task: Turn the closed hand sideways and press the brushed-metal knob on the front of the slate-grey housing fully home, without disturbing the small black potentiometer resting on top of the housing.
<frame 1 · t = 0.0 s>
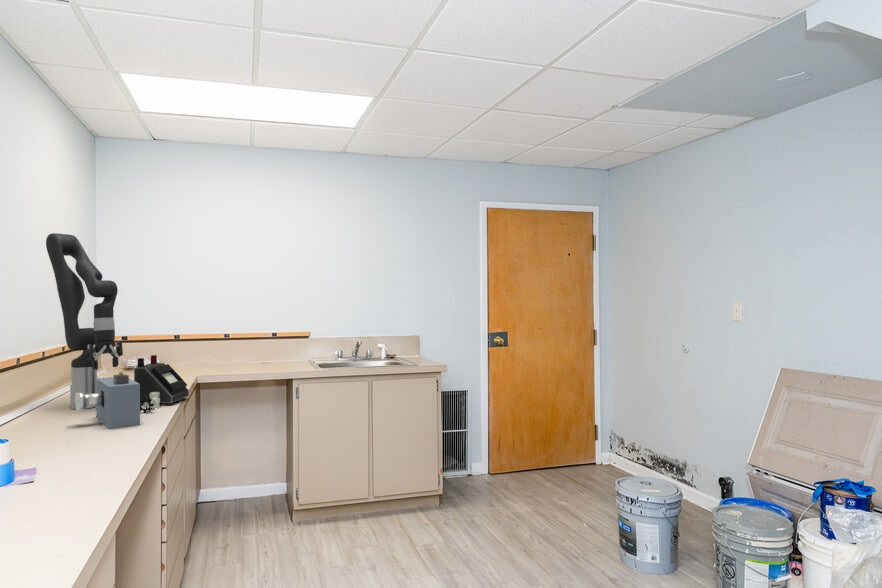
hand: (105, 368, 239), 17 cm above the worktop, tool pointing down, fingers open, 8 cm apart
knob: (91, 400, 214), point 9 cm above the worktop, slide at 5.5 cm
housing: (117, 421, 220), on the worktop
valve: (150, 410, 240), on the worktop
voltmeter: (162, 402, 256), on the worktop
potentiometer: (121, 383, 215), point 15 cm above the worktop, touching housing
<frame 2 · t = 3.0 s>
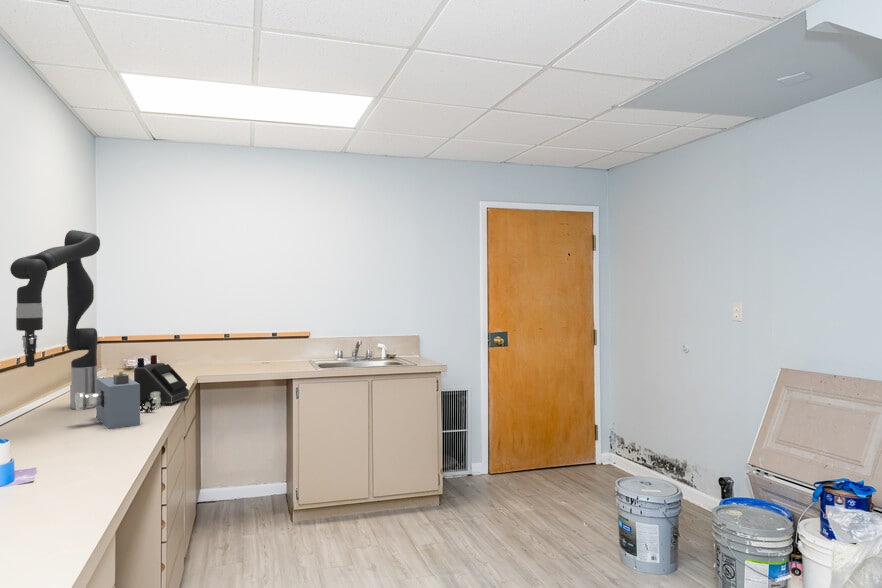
hand: (29, 365, 202), 23 cm above the worktop, tool pointing down, fingers open, 3 cm apart
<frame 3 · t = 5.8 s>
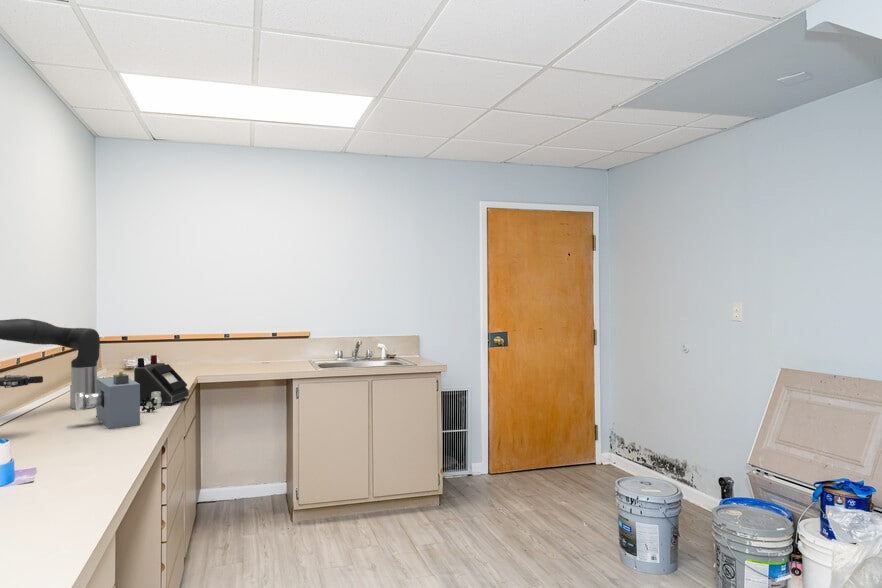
hand: (42, 379, 204), 18 cm above the worktop, tool horizontal, fingers closed
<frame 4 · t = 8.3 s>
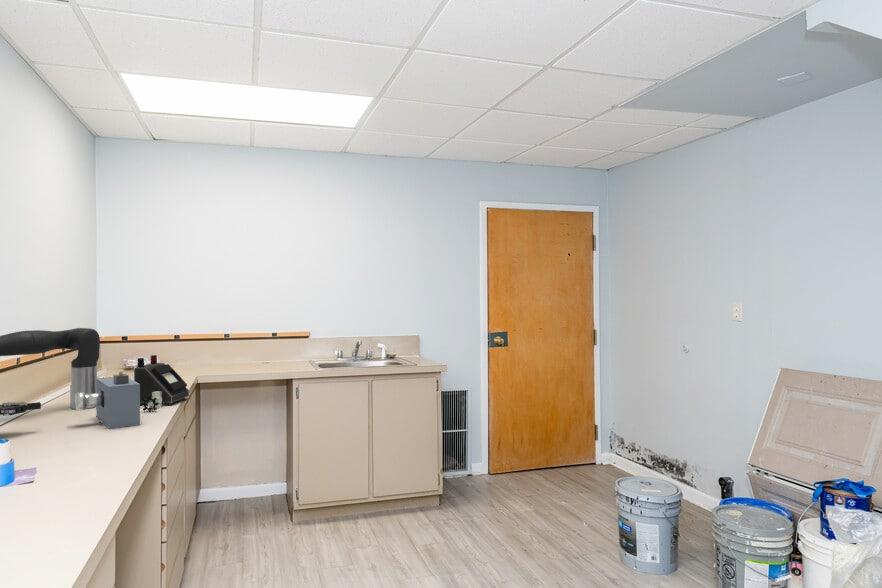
hand: (40, 405, 204), 9 cm above the worktop, tool horizontal, fingers closed
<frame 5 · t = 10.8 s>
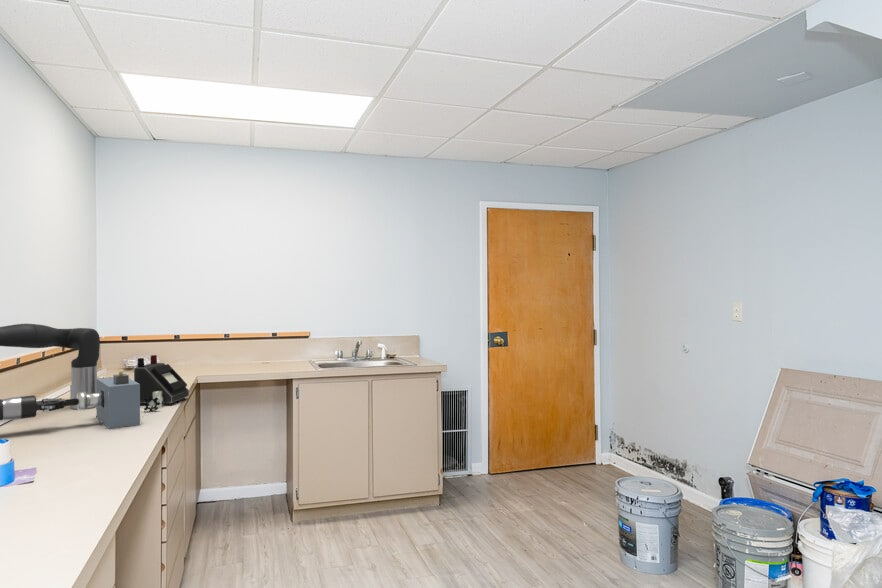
hand: (77, 401, 211), 9 cm above the worktop, tool horizontal, fingers closed
knob: (92, 399, 214), point 9 cm above the worktop, slide at 5.0 cm, touching gripper
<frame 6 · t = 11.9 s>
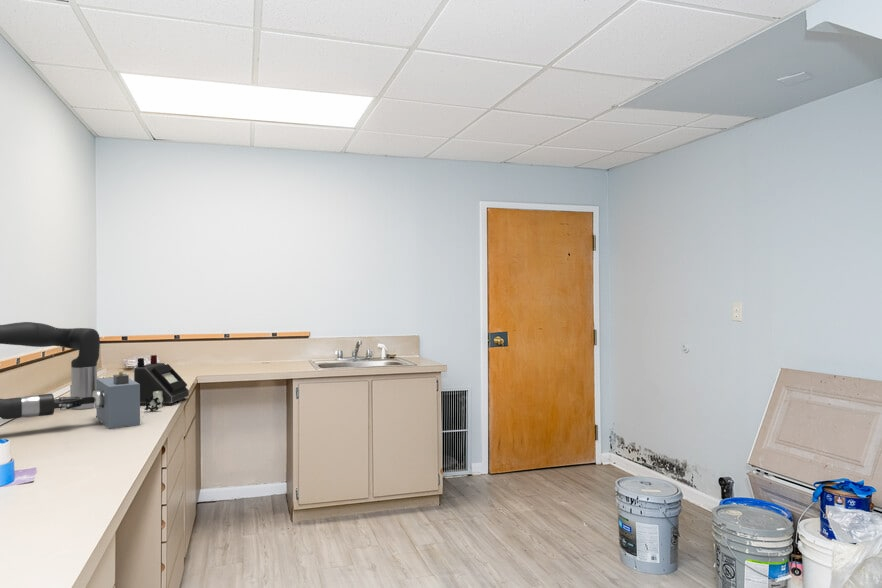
hand: (93, 399, 215), 9 cm above the worktop, tool horizontal, fingers closed
knob: (108, 398, 218), point 9 cm above the worktop, slide at -0.1 cm, touching gripper
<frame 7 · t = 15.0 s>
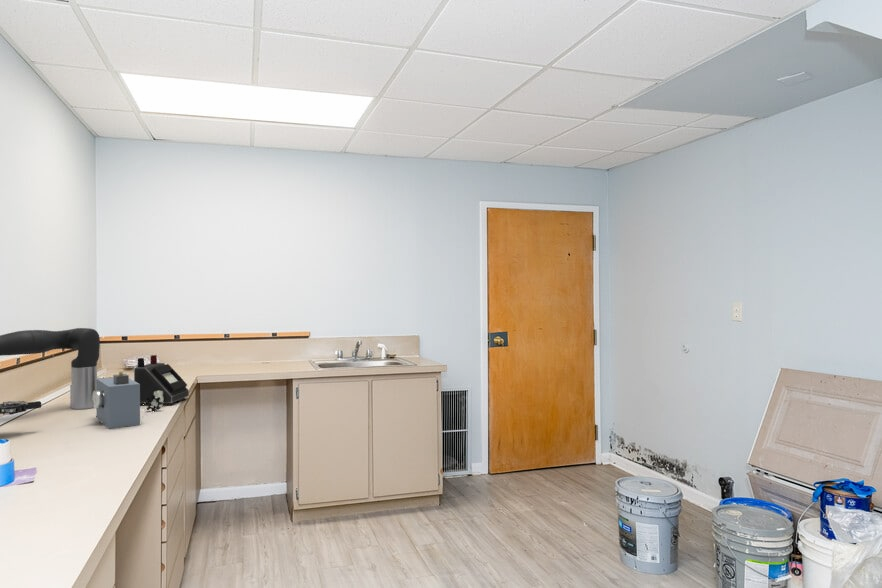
hand: (40, 404, 204), 9 cm above the worktop, tool horizontal, fingers closed
knob: (108, 398, 218), point 9 cm above the worktop, slide at -0.1 cm
valve: (156, 409, 242), on the worktop, touching voltmeter
voltmeter: (162, 402, 256), on the worktop, touching valve
everything else where it was.
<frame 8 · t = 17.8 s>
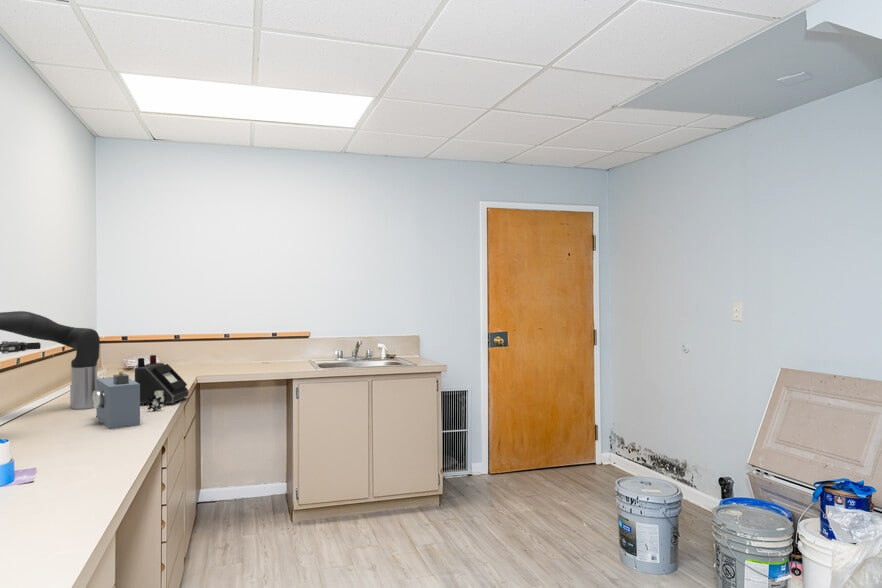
hand: (40, 345, 204), 30 cm above the worktop, tool horizontal, fingers closed
valve: (157, 409, 243), on the worktop
voltmeter: (162, 402, 256), on the worktop
everything else where it was.
at the end: knob slide at -0.1 cm; potentiometer moved 0.0 cm from its start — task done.
